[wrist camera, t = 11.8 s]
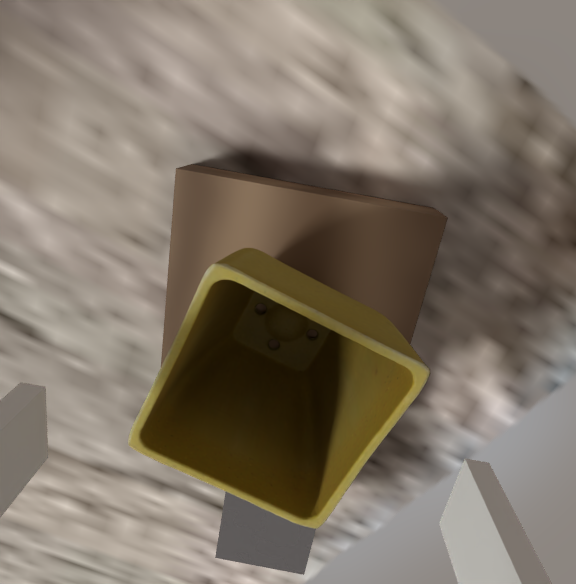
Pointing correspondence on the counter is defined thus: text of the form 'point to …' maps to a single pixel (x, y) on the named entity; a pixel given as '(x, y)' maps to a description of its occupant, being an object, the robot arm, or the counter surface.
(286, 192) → the brown curved panel
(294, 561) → the metal tin
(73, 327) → the counter surface
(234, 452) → the flower pot
